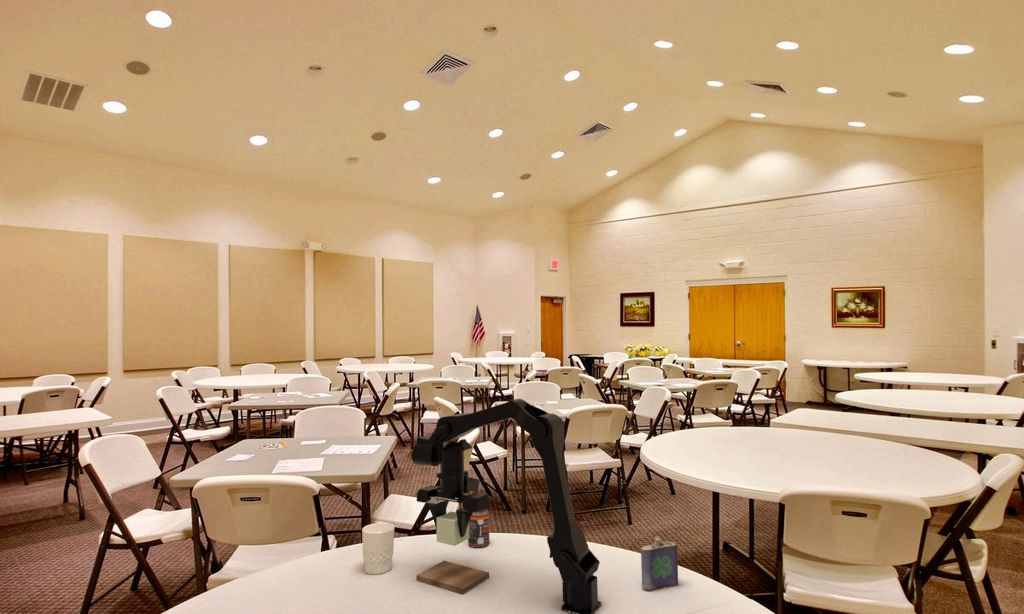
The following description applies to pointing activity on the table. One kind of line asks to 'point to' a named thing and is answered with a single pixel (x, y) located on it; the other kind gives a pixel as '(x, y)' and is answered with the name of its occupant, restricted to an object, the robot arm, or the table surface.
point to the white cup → (378, 547)
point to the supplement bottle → (479, 529)
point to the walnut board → (453, 577)
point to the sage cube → (450, 530)
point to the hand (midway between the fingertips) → (453, 534)
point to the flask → (659, 565)
